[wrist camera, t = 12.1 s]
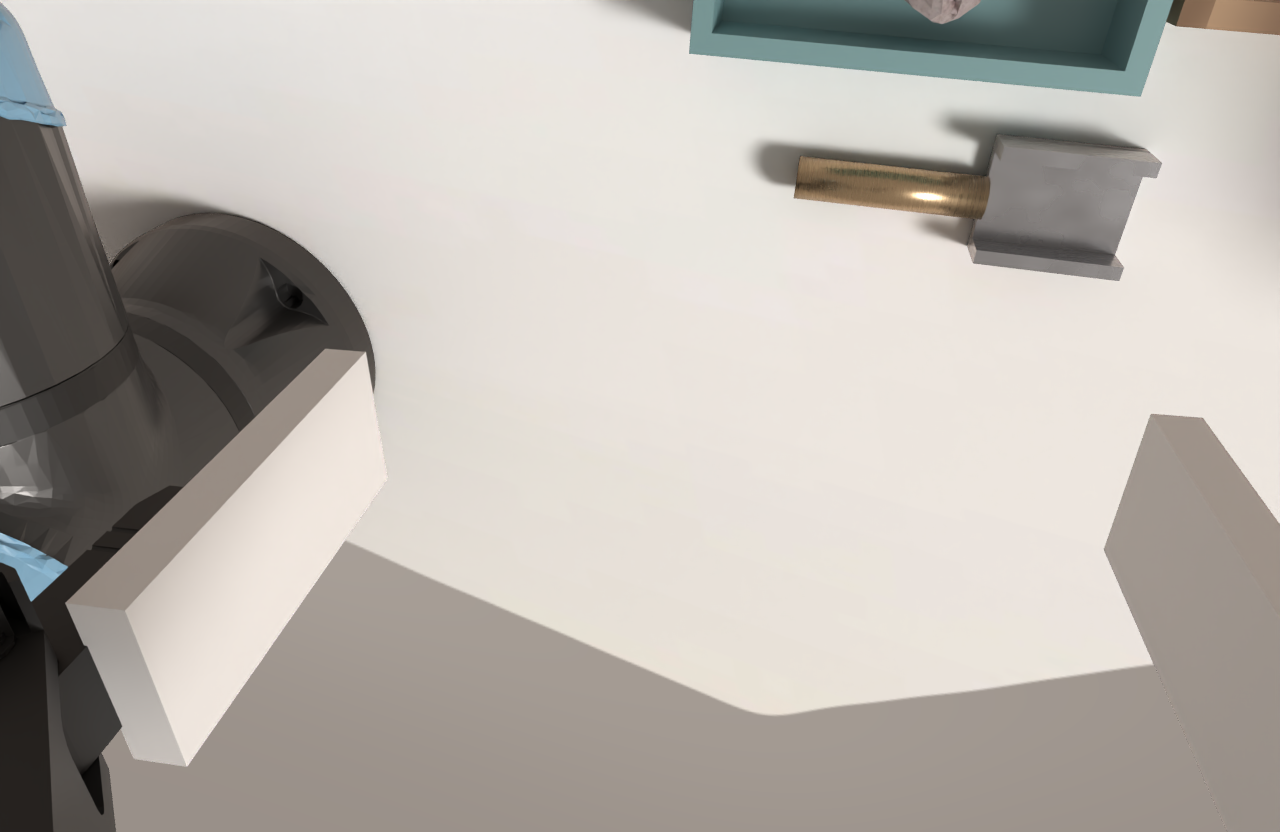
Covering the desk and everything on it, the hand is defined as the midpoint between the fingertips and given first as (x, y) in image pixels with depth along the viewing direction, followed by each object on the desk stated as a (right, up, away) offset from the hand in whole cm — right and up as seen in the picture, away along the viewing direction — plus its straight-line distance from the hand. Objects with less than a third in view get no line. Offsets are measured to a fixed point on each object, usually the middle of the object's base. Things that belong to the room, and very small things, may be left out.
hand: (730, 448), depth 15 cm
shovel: (+12, +11, +24) cm, 29 cm away
